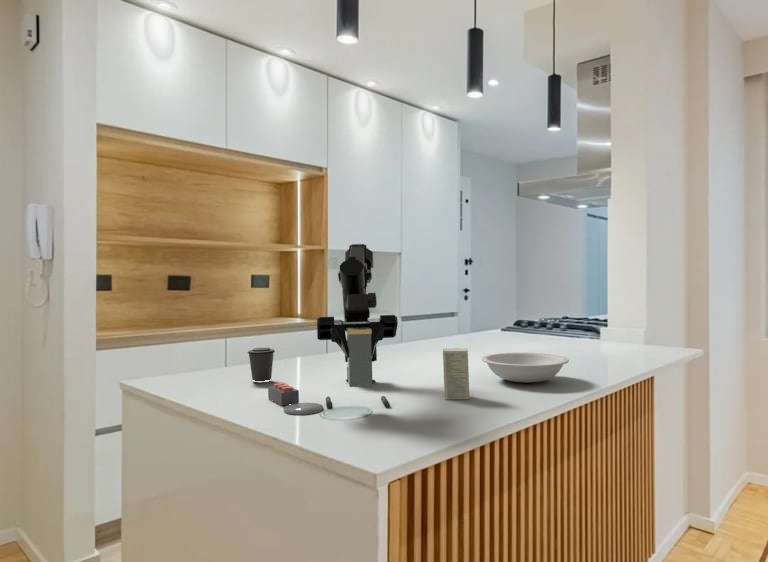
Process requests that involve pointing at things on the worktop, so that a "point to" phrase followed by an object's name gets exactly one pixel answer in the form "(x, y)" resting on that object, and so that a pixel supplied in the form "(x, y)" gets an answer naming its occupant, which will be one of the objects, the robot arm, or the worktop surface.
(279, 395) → the gray power strip
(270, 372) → the coffee cup
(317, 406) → the gray disc
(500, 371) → the soup bowl
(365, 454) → the worktop surface
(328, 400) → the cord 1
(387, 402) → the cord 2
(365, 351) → the charcoal tea tin
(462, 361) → the skincare box
